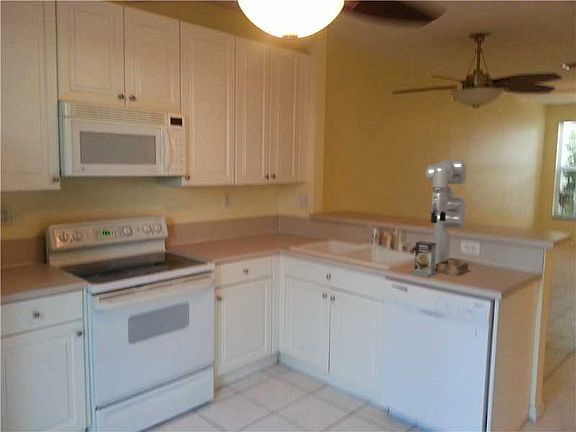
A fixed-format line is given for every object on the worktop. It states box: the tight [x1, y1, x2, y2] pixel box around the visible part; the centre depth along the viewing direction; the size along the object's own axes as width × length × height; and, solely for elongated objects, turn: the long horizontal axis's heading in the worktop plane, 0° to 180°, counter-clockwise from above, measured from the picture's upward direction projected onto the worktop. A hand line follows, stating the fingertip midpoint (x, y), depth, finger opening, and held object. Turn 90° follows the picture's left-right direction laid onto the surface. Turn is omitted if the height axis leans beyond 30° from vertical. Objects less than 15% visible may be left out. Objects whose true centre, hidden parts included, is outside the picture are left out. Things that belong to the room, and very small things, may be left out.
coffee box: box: [414, 240, 436, 274], centre depth 240 cm, size 9×6×16 cm
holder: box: [435, 259, 469, 277], centre depth 246 cm, size 12×14×5 cm
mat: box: [410, 270, 438, 278], centre depth 241 cm, size 10×12×1 cm
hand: (438, 222), depth 241 cm, fingers open, 9 cm apart
